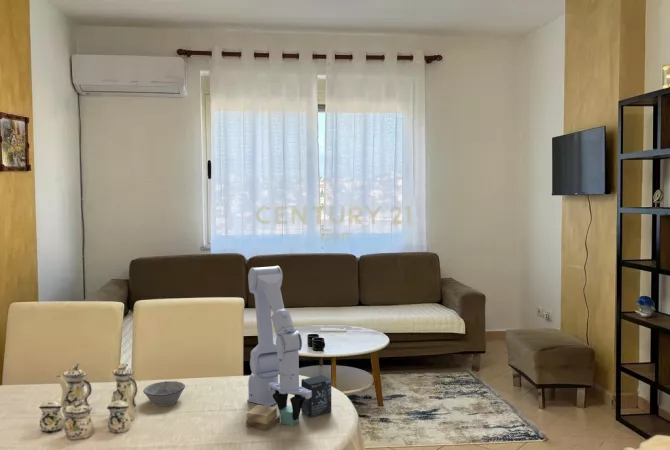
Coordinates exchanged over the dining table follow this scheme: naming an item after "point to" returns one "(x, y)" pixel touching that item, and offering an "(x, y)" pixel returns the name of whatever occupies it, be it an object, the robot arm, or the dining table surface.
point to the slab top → (262, 414)
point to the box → (317, 396)
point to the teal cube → (287, 416)
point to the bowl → (164, 392)
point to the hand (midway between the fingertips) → (289, 417)
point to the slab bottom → (264, 426)
